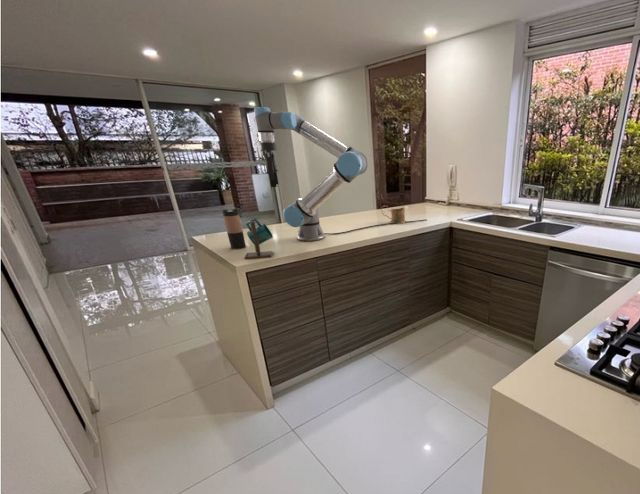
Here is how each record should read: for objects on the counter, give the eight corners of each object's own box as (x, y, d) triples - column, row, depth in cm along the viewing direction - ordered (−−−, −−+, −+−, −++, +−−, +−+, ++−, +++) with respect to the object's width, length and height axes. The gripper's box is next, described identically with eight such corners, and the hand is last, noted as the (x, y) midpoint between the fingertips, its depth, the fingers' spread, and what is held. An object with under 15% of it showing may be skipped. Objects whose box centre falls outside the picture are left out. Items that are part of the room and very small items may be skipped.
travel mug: (239, 249, 183) (231, 211, 174) (227, 248, 184) (218, 211, 176) (249, 245, 189) (241, 209, 181) (237, 244, 191) (228, 208, 183)
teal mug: (258, 243, 178) (273, 235, 178) (256, 247, 171) (272, 239, 171) (243, 223, 172) (259, 215, 172) (240, 226, 165) (257, 218, 165)
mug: (382, 221, 253) (381, 204, 248) (405, 220, 254) (405, 204, 249) (382, 224, 242) (381, 207, 237) (406, 223, 244) (406, 206, 239)
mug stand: (273, 249, 182) (267, 217, 175) (271, 257, 170) (264, 222, 163) (249, 251, 179) (242, 218, 171) (245, 259, 167) (237, 223, 160)
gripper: (262, 142, 182) (269, 183, 191) (256, 141, 160) (264, 188, 169) (277, 142, 184) (283, 183, 193) (273, 141, 162) (280, 187, 171)
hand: (274, 185), depth 181 cm, fingers open, 13 cm apart
